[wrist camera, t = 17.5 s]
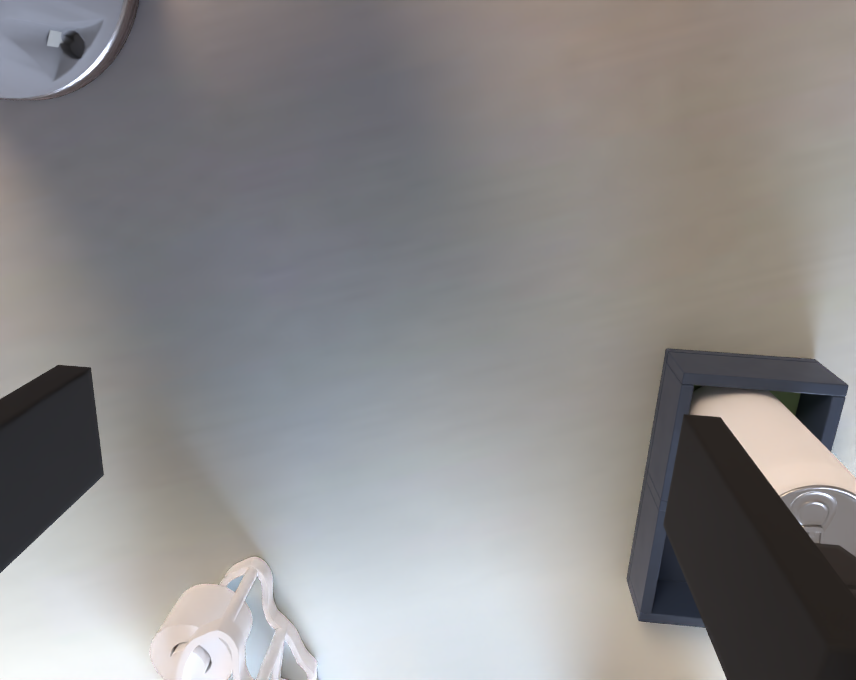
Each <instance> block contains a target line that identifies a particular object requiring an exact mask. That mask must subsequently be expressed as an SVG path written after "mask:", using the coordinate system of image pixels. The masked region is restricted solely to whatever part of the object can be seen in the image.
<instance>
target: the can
mask: <svg viewBox="0 0 856 680" xmlns="http://www.w3.org/2000/svg"><path fill="white" fill-rule="evenodd" d="M689 415H701V416H713V417H721V418H722V420H723V421H724V422H725V424H726V425H727V426H728V428H729V429H730V430H731V432H732V433H733V434H734V436H735V437H736V438H737V440H738V441H739V442H740V444H741V445H742V446H743V448H744V449H745V451H746V452H747V453H748V455H749V456H750V457H751V459H752V460H753V461H754V463H755V464H756V465H757V467H758V468H759V469H760V471H761V472H762V473H763V475H764V476H765V477H766V479H767V480H768V481H769V483H770V484H771V485H772V487H773V488H774V489H775V491H776V492H777V493H778V495H779V496H780V497H781V499H782V500H783V501H784V503H785V504H786V505H787V507H788V508H789V510H790V511H791V512H792V514H793V515H794V516H795V518H796V519H797V520H798V522H799V523H800V524H801V526H802V527H803V528H804V530H805V531H806V532H807V534H808V535H809V536H810V538H811V539H812V540H813V542H814V543H821V544H832V545H840V546H841V547H843V548H844V549H845V550H847V551H848V552H850V553H851V554H852V555H854V556H855V557H856V478H855V477H854V476H853V475H852V474H851V472H850V471H849V470H848V469H847V468H846V467H845V466H844V465H843V464H842V463H841V462H840V461H839V460H838V459H837V458H836V457H835V456H834V455H833V454H832V453H831V452H830V451H829V450H828V449H827V448H826V447H825V446H824V445H823V444H822V443H821V442H820V441H819V440H818V439H817V438H816V437H815V436H814V435H813V434H812V433H811V432H810V431H809V430H808V429H807V428H806V427H805V426H804V425H803V424H802V423H801V422H800V421H799V420H798V419H797V418H796V417H795V416H794V415H793V414H792V413H791V412H790V411H789V410H788V409H787V408H786V407H785V406H784V405H783V404H782V403H781V402H780V401H779V400H778V399H777V398H776V397H775V396H774V395H773V394H772V393H771V392H770V391H767V390H754V389H741V388H728V387H714V386H702V387H700V388H698V389H697V390H695V391H694V392H693V394H692V399H691V405H690V410H689Z"/></svg>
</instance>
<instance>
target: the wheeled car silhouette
mask: <svg viewBox="0 0 856 680" xmlns="http://www.w3.org/2000/svg"><path fill="white" fill-rule="evenodd" d="M244 574H245V575H244ZM242 575H244V577H243V579H242V581H241V582H240V584H239V586H238V588H237V590H236V592H234V591H232V590H230V589H229V588H226V587H227V585H228V584H229V583H230V582H231V581H232V580H233V579H235V578H237V577H239V576H242ZM256 577H258V579H259V581H260V583H261V586H262V607H263V612H264V615H265V618H266V620H267V622H268V623H269V625H270V626H271V627H273V628H274V629H275V630H276V631H275V634H274V636H273V639H272V641H271V644H270V646H269V648H268V651H267V653H266V656H265V658H264V660H263V663H262V665H261V668H260V670H259V673H258V675H257V677H256V680H269V677H270V675H271V672H272V675H271V680H287V679H283V678H281V668H282V660H283V650H284V640H285V641H286V642H287V644H288V646H289V647H290V649H291V652H292V654H293V656H294V658H295V660H296V661H297V663H298V665H299V666H300V667H301V668H302V669H303V670H304V671H305V672H306V673H307V680H318V679H317V665H318V663H317V661H316V659H315V658H314V657H313V656H312V655H311V654H310V653H309V652H308V651H307V649H306V647H305V646H304V644H303V642H302V640H301V637H300V635H299V633H298V631H297V630H296V628H295V627H294V625H293V624H292V623H291V622H290V621H289V620H288V619H287V618H286V617H285V616H284V615H283V614H282V613H281V612H280V611H279V610H278V609H277V607H276V605H275V602H274V598H273V575H272V572H271V570H270V567H269V566H268V564H267V563H266V562H265V561H264V560H262V559H261V558H259V557H255V556H253V557H250V558H247V559H245V560H243V561H240V562H238V563H236V564H234V565H233V566H232V567H231V568H230V569H229V570H228V572H227V573H226V575H225V576H224V578H223V580H222V582H221V583H220V585H217V584H200V585H196V586H192V587H191V588H189V589H188V590H186V591H184V592H183V594H182V595H181V596H180V598H179V599H178V601H177V602H176V604H175V605H174V607H173V609H172V610H171V612H170V613H169V615H168V616H167V618H166V620H165V621H164V623H163V624H162V626H161V627H160V629H159V630H158V632H157V634H156V635H155V637H154V638H153V640H152V642H151V646H150V651H149V652H150V658H151V662H152V664H153V666H154V668H155V670H156V671H157V673H158V674H159V675H160V676H161V677H162V678H163V679H164V680H228V678H229V677H230V675H231V673H233V679H234V680H255V679H254V678H252V677H251V675H250V673H249V671H248V668H247V665H246V660H245V643H246V641H247V638H248V636H249V634H250V632H251V628H252V624H253V621H252V613H251V611H250V609H249V607H248V605H247V603H246V602H245V599H246V597H247V595H248V593H249V591H250V589H251V587H252V585H253V583H254V581H255V579H256Z"/></svg>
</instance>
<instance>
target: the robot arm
mask: <svg viewBox="0 0 856 680" xmlns="http://www.w3.org/2000/svg"><path fill="white" fill-rule="evenodd" d="M138 4H139V0H0V99H8V100H43V99H51V98H55V97H59V96H63V95H66V94H69V93H71V92H74V91H76V90H78V89H80V88H82V87H84V86H85V85H87V84H88V83H90V82H91V81H93V80H94V79H95V78H97V77H98V76H99V75H100V74H101V73H102V72H103V71H104V70H105V69H106V68H107V67H108V66H109V65H110V64H111V63H112V62H113V60H114V59H115V58H116V56H117V55H118V54H119V52H120V50H121V49H122V47H123V45H124V43H125V42H126V40H127V37H128V35H129V33H130V31H131V28H132V25H133V22H134V19H135V17H136V12H137V8H138ZM103 475H104V472H103V464H102V456H101V448H100V439H99V431H98V423H97V415H96V407H95V398H94V390H93V382H92V374H91V368H90V367H77V366H65V365H57V366H56V367H54V368H52V369H51V370H49V371H47V372H46V373H44V374H42V375H40V376H39V377H37V378H35V379H34V380H32V381H30V382H29V383H27V384H25V385H24V386H22V387H20V388H19V389H17V390H15V391H13V392H12V393H10V394H8V395H7V396H5V397H3V398H2V399H0V573H1V572H2V571H3V570H4V569H5V568H6V567H7V566H8V565H9V564H10V563H11V562H12V561H13V560H15V559H16V558H17V557H18V556H19V555H20V554H21V553H22V552H23V551H24V550H25V549H26V548H27V547H28V546H29V545H30V544H31V543H32V542H34V541H35V540H36V539H37V538H38V537H39V536H40V535H41V534H42V533H43V532H44V531H45V530H46V529H47V528H48V527H49V526H50V525H52V524H53V523H54V522H55V521H56V520H57V519H58V518H59V517H60V516H61V515H62V514H63V513H64V512H65V511H66V510H67V509H68V508H69V507H71V506H72V505H73V504H74V503H75V502H76V501H77V500H78V499H79V498H80V497H81V496H82V495H83V494H84V493H85V492H86V491H87V490H89V489H90V488H91V487H92V486H93V485H94V484H95V483H96V482H97V481H98V480H99V479H100V478H101V477H102V476H103ZM663 526H664V528H665V531H666V533H667V536H668V538H669V541H670V543H671V545H672V548H673V550H674V553H675V555H676V557H677V560H678V562H679V565H680V567H681V570H682V572H683V574H684V577H685V579H686V582H687V584H688V586H689V589H690V591H691V594H692V596H693V599H694V601H695V603H696V606H697V608H698V611H699V613H700V615H701V618H702V620H703V623H704V625H705V628H706V630H707V632H708V635H709V637H710V640H711V642H712V644H713V647H714V649H715V652H716V654H717V656H718V659H719V661H720V664H721V666H722V669H723V671H724V673H725V676H726V678H727V680H856V557H855V556H854V555H852V554H851V553H850V552H848V551H847V550H845V549H844V548H843V547H841V546H840V545H832V544H821V543H814V542H813V540H812V539H811V538H810V536H809V535H808V534H807V532H806V531H805V530H804V528H803V527H802V526H801V524H800V523H799V522H798V520H797V519H796V518H795V516H794V515H793V514H792V512H791V511H790V510H789V508H788V507H787V505H786V504H785V503H784V501H783V500H782V499H781V497H780V496H779V495H778V493H777V492H776V491H775V489H774V488H773V487H772V485H771V484H770V483H769V481H768V480H767V479H766V477H765V476H764V475H763V473H762V472H761V471H760V469H759V468H758V467H757V465H756V464H755V463H754V461H753V460H752V459H751V457H750V456H749V455H748V453H747V452H746V451H745V449H744V448H743V446H742V445H741V444H740V442H739V441H738V440H737V438H736V437H735V436H734V434H733V433H732V432H731V430H730V429H729V428H728V426H727V425H726V424H725V422H724V421H723V420H722V418H721V417H713V416H701V415H688V414H684V415H683V421H682V426H681V432H680V437H679V442H678V448H677V453H676V458H675V464H674V469H673V475H672V480H671V485H670V491H669V496H668V501H667V507H666V512H665V518H664V523H663Z"/></svg>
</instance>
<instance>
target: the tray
mask: <svg viewBox="0 0 856 680" xmlns="http://www.w3.org/2000/svg"><path fill="white" fill-rule="evenodd" d="M702 386H714V387H728V388H741V389H754V390H767V391H770V392H771V393H772V394H773V395H774V396H775V397H776V398H777V399H778V400H779V401H780V402H781V403H782V404H783V405H784V406H785V407H786V408H787V409H788V410H789V411H790V412H791V413H792V414H793V415H794V416H795V417H796V418H797V419H798V420H799V421H800V422H801V423H802V424H803V425H804V426H805V427H806V428H807V429H808V430H809V431H810V432H811V433H812V434H813V435H814V436H815V437H816V438H817V439H818V440H819V441H820V442H821V443H822V444H823V445H824V446H825V447H826V448H827V449H828V450H829V451H830V452H831V450H832V446H833V442H834V438H835V435H836V431H837V427H838V423H839V420H840V416H841V412H842V409H843V405H844V401H845V396H846V394H847V390H848V385H847V384H846V383H845V382H844V381H842V380H841V379H840V378H838V377H837V376H836V375H835V374H833V373H832V372H831V371H829V370H828V369H827V368H825V367H824V366H823V365H822V364H820V363H819V362H818V361H817V360H815V359H803V358H789V357H775V356H762V355H748V354H734V353H720V352H706V351H693V350H679V349H666V352H665V358H664V364H663V370H662V375H661V381H660V387H659V393H658V399H657V405H656V410H655V416H654V422H653V428H652V434H651V440H650V446H649V451H648V457H647V463H646V469H645V475H644V481H643V486H642V492H641V498H640V504H639V510H638V516H637V522H636V527H635V533H634V539H633V545H632V551H631V557H630V562H629V568H628V574H627V582H628V586H629V589H630V592H631V596H632V599H633V603H634V606H635V610H636V613H637V617H638V620H639V621H642V622H652V623H663V624H673V625H683V626H693V627H703V628H705V625H704V623H703V620H702V618H701V615H700V613H699V611H698V608H697V606H696V603H695V601H694V599H693V596H692V594H691V591H690V589H689V586H688V584H687V582H686V579H685V577H684V574H683V572H682V570H681V567H680V565H679V562H678V560H677V557H676V555H675V553H674V550H673V548H672V545H671V543H670V541H669V538H668V536H667V533H666V531H665V528H664V526H663V523H664V518H665V512H666V507H667V501H668V496H669V491H670V485H671V480H672V475H673V469H674V464H675V458H676V453H677V448H678V442H679V437H680V432H681V426H682V421H683V415H684V414H688V415H689V410H690V405H691V399H692V394H693V392H694V391H695V390H697V389H698V388H700V387H702Z"/></svg>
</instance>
